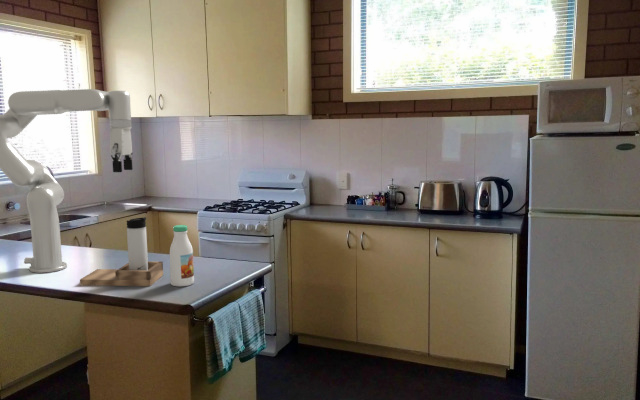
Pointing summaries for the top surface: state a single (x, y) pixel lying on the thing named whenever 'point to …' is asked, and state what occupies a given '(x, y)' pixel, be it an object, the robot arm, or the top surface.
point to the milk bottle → (181, 258)
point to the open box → (125, 276)
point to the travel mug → (137, 244)
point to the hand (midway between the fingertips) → (123, 171)
